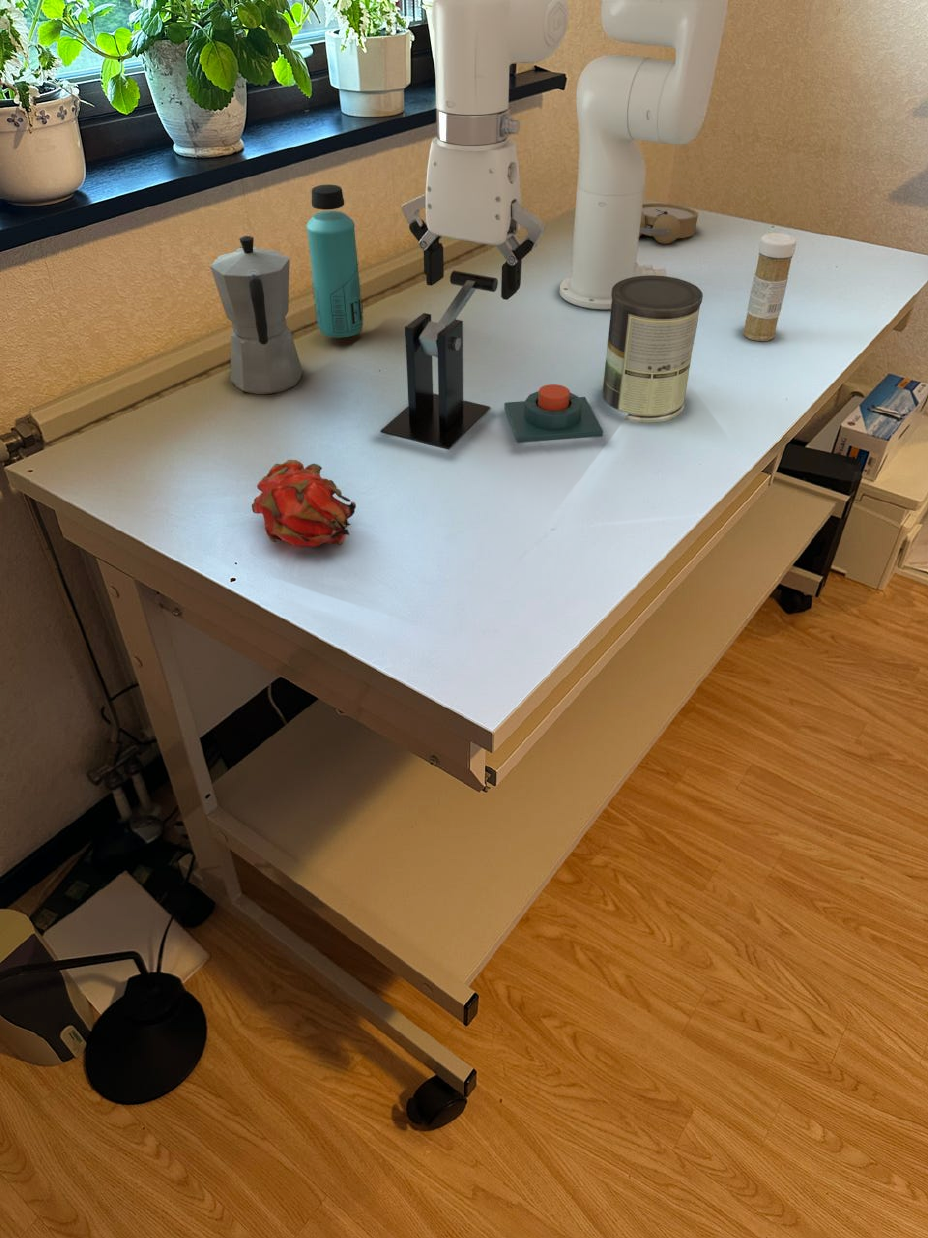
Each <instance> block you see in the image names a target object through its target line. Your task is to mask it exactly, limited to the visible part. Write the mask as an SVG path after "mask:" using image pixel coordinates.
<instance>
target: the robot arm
mask: <svg viewBox="0 0 928 1238" xmlns="http://www.w3.org/2000/svg"><path fill="white" fill-rule="evenodd" d="M728 3H729V0H601V8H600V22H601V27H602V30H603V32H604V33H605V35H606V36H607V37H608V38H610V39H613V40H614V41H617V42H621V43H625V44H633V45H641V46H652V47H662V48H671V49H674V50H675V60H671V59H661V58H651V57H646V56H638V55H637V56H636V55H629V54H607V55H602V56H598V57H596V58H594V59H593V60H591V61H589V63H588V64H586V65H585V67H584V68H583V70H582V71H581V73H580V75H579V78H578V81H577V85H576V94H575V95H576V97H575V101H576V117H577V125H578V145H579V146H578V170H577V171H578V172H577V184H576V185H577V186H576V197H575V198H576V200H575V213H574V227H573V241H572V252H571V254H572V255H571V269H570V276H568V277H566V278H564V279H563V280H562V281H561V282H560V284H559V295H560V297H561V298H562V299H564V301H566V302H567V303H569V304H572V305H575V306H578V307H581V308H586V309H592V310H611V303H612V297H611V293H612V288H613V286H614V285H615V284H616V283H618V282H619V281H622V280H624V279H627V278H631V277H637V276H649V275H655V276H667V270H666V268H654V267H653V265H652V264H645V265H640V264H638V263H637V255H638V247H639V239H640V237H639V231H640V222H641V214H642V205H643V204H644V197H645V196H644V195H645V188H646V181H647V170H646V169H647V168H646V162H645V159H644V157H643V153H642V151H641V148H640V146H639V144H638V142H637V141H642V142H649V143H656V144H661V145H662V144H663V145H672V146H682V145H687V144H689V143H690V142H692V141H693V140H695V139H696V137H697V136H698V135H699V134H700V131H701V129H702V127H703V124H704V121H705V119H706V116H707V112H708V107H709V102H710V98H711V93H712V88H713V84H714V77H715V73H716V69H717V64H718V59H719V53H720V48H721V45H722V38H723V34H724V29H725V26H726V25H725V24H726V19H727V13H728ZM431 11H432V12H431V16H432V26H433V27H432V28H433V30H434V73H435V74H434V75H435V76H434V78H435V114H436V115H435V118H436V119H435V123H436V124H435V125H436V126H435V127H436V136H435V137H434V138H432V140H431V144H430V149H429V155H428V162H427V171H426V181H425V193H423V194H421V195H419V196H417V197H415V198H413V199H411V200H409V201H407V202H405V203H403V204H402V205H401V211H402V214H403V216H404V218H405V220H406V222H407V224H408V225H409V226H408V229H409V231H410V233H411V234H412V235H413V237H414V238H415V239H416V241H417V242H418V247H419V249H420V250H422V251H423V273H424V275H425V280H426V281H425V282H426V286H431V287H432V286H434V285H435V284H437V283H438V282H439V281H440V280H442V279H444V276H445V270H444V269H445V267H444V266H445V265H444V258H445V257H444V246H443V243H441V242H440V240H441V239H442V238H446V239H451V240H452V239H453V240H456V241H457V240H458V241H464V242H469V243H476V244H481V245H489V246H496V248H497V249H498V251H499V252H500V253H501V255H502V257H503V259H504V260H505V262H504V263H503V264H502V265H501V279H500V281H501V282H500V283H501V284H500V286H501V288H500V291H501V292H500V297H501V298H502V300H504V301H505V300H506V301H508V300H509V299H511V298H512V297H513V296H514V295H516V293H518V291H519V290H520V288H521V284H522V261H523V259H524V258H526V256H527V255H528V254H529V253H530V252H532V250H534V249H535V248H536V247H537V245H538V243H539V241H540V239H541V237H542V236H543V234H544V233H545V230H546V228H547V227H546V226H547V225H546V223H545V222H544V221H543V220H541V219H540V218H539V217H537V216H536V215H535V214H534V213H532V212H530V211H529V210H528V209H527V208H525V207H524V206H523V205H522V192H521V191H522V190H521V175H520V165H519V159H518V158H519V157H518V151H517V146H516V142H515V141H514V140H512V139H508V138H509V137H510V136H511V135H519V132H520V128H521V127H520V126H521V123H520V120H519V119H514V118H513V117H511V109H509V101H510V100H509V98H510V95H509V93H510V66H511V65H512V64H533V63H538V62H542V61H544V60H546V59H547V58H549V57H550V56H552V55H553V54H554V53H555V52H556V51H557V50H558V49H559V47H560V46H561V44H562V42H563V40H564V38H565V35H566V32H567V30H568V23H569V8H568V4H567V0H433V3H432V10H431ZM422 209H425V220H423V219H422V217H421V214H420V210H422ZM521 227H523V228H524V229H525V230H526V232H527V234H526V236H525V239H524V240H523V241H522V242H521V241H520V239H519V238H518V235H517V234H518V233H519V232H520V231H521Z"/></svg>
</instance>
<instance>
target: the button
mask: <svg viewBox="0 0 928 1238" xmlns="http://www.w3.org/2000/svg"><path fill="white" fill-rule="evenodd" d="M538 391H539V393H538V406H539V407H540V408H542V409H543V410H549V411H561V410H564V409H567V408H568V406H569V396H570V393H571V391H570V389H569V388H568V387H566V386H565V385H562V384H555V383H550V384H545V385H543V386H541V387H540V388H539V389H538Z"/></svg>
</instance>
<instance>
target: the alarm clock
mask: <svg viewBox="0 0 928 1238" xmlns="http://www.w3.org/2000/svg"><path fill="white" fill-rule="evenodd" d="M698 217H699V213H698V212H697V211H696V210H695V209H692V208H690V207H688V206H687V207H686V206H683V205H682V206H681V205H677V204H671V203H662V202H661V203H660V202H659V203H658V202H656V203H655V202H654V203H653V202H652V203H651V202H650V203H649V202H648V203H643V205H642V214H641V222H640V231H639V238H640V237H641V236H642V235H645V236H649V237H653V238H654V239H655V240H656V242H658V243H660V244H663V245H668V244H671V243H673V242H674V241H675V240H677V239H681V238H682V239H683V238H689V237H692V236H694V235H695V234H696V227H697V223H698V222H697V221H698Z"/></svg>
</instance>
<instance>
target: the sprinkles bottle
mask: <svg viewBox="0 0 928 1238" xmlns="http://www.w3.org/2000/svg"><path fill="white" fill-rule="evenodd" d="M796 247H797V239H796V238H795V237H794V236H793V235H790V234H787V233H781V232H770V233H765V234H764V235H762V236H761V238H760V242H759V246H758V257H757V262H756V268H755V273H754V275H753V280H752V286H751V291H750V294H749V301H748V305H747V311H746V312H747V314H746V318H745V322H744V327H743V330H742V334H743V336H745V337H746V338H748V339H750V340H752V341H756V342H768V341H770V340H772V339H775V337H776V335H777V332H776V330H777V327H778V323H779V317H780V315H781V312H782V307H783V302H784V298H785V293H786V290H787V284H788V281H789V271H790V268H791V263H792V258H793V256H794V254H795V252H796Z"/></svg>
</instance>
